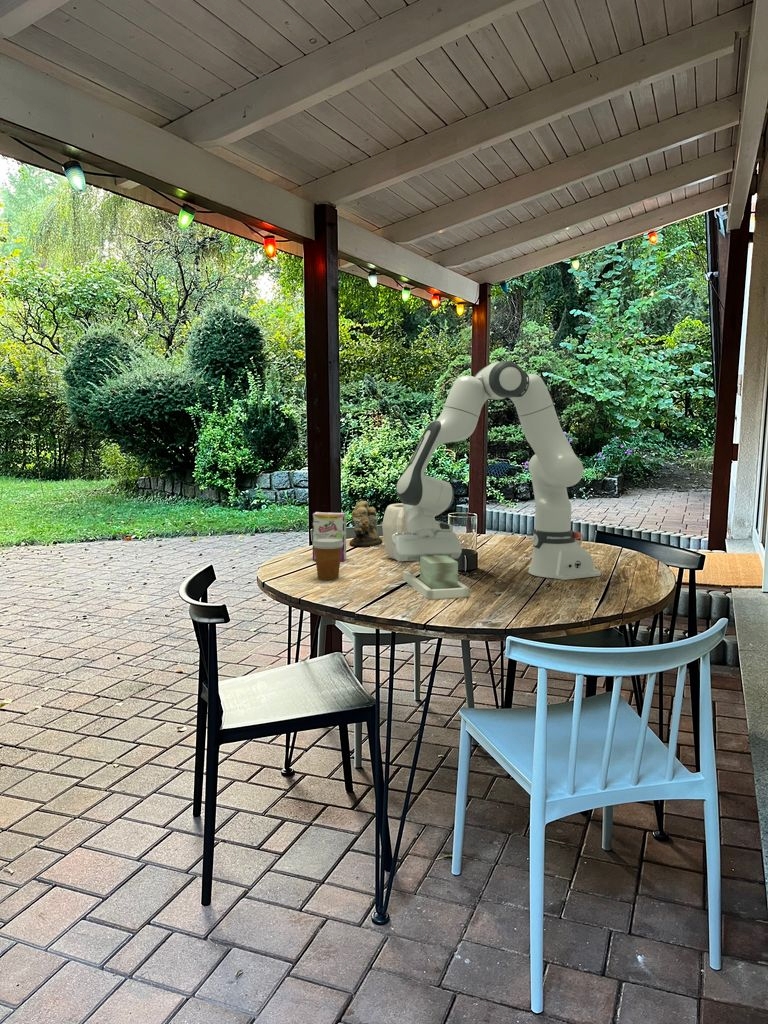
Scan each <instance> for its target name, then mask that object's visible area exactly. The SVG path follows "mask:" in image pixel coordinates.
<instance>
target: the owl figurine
mask: <svg viewBox="0 0 768 1024" xmlns="http://www.w3.org/2000/svg"><path fill="white" fill-rule="evenodd" d="M351 519H352V520H351V522H352V525H354V529H353V532H354V533H355V536H354V537H353V538H352V539H351V540H350V541H349V545H350V546H351V547H360V548H361V547H362V548H371V547H370V546H373V547H376V546H377V545H378V546H380V545H382V544H383V539H382V538H381V537H380V535H379V526H378V514H377V510H376V508H375V507H374V506H369V502H368V501H366V500H361V501H359V502H357V503H356V504H355V506H354V509H353V510H352V511H351ZM381 543H382V544H381ZM379 544H380V545H379Z"/></svg>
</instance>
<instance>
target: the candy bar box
mask: <svg viewBox="0 0 768 1024" xmlns="http://www.w3.org/2000/svg"><path fill="white" fill-rule="evenodd" d="M322 537H335V538H341V539H342V542H343V546H342V551H341V559H340V562H345V561H346V559H347V513H346V512H321V511H315V512H313V513H312V543H313V542H314V539H316V538H322ZM314 560H316V559H315V552H314V547H313V546H312V561H314Z"/></svg>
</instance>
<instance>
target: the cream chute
mask: <svg viewBox="0 0 768 1024" xmlns="http://www.w3.org/2000/svg"><path fill="white" fill-rule="evenodd" d="M402 580H403V581H404V582H406V583H407V584H408V585H410V586H411V587H412V588H413V589H414V590H416V592H418V593H419V594H421V595H422V597H424V598H425V599H426V600H440V599H441V600H444V599H460V598H461V599H462V598H469V599H470V597H471V596H470V595H471V589H470V587H468V586H467V585H465V584H464V583H462V582H461V581H459V580H458V588H449V589H430V588H429V587H427V586H426V585H425V584H424V583H422V582H421V581H420V579H418V578H417V577H416V576H414V575H413V574H412V573H411V572H409V570H406V571H405V570H403V571H402Z"/></svg>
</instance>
